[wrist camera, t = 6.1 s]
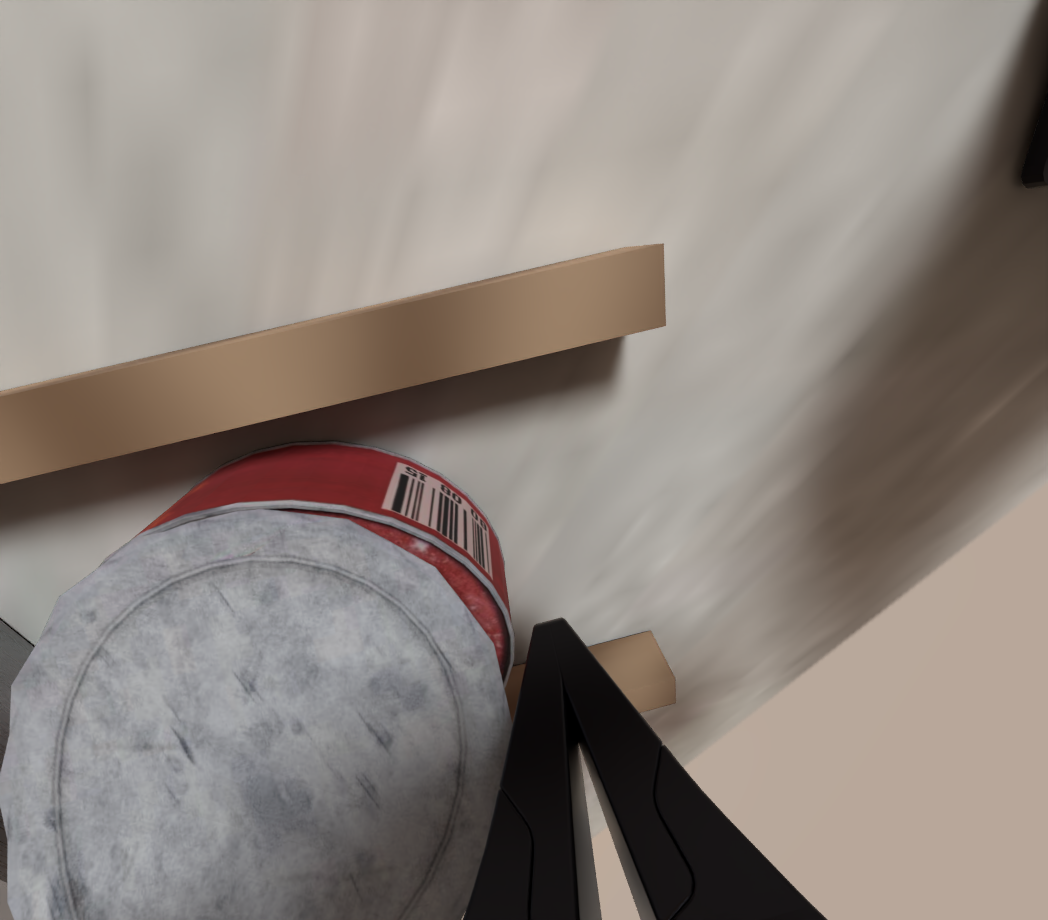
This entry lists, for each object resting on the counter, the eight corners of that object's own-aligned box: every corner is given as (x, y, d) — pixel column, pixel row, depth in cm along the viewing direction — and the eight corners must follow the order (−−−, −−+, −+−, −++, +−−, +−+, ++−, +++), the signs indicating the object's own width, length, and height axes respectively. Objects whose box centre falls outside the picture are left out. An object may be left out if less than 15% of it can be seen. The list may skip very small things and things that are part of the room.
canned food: (270, 553, 17) (-200, 798, 8) (367, 360, 13) (-386, 383, 4) (467, 739, 16) (206, 1274, 7) (639, 595, 12) (575, 1443, 3)
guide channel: (624, 247, 9) (663, 243, 7) (652, 654, 16) (675, 703, 14) (-363, 474, 8) (-585, 532, 7) (116, 795, 15) (71, 865, 14)
